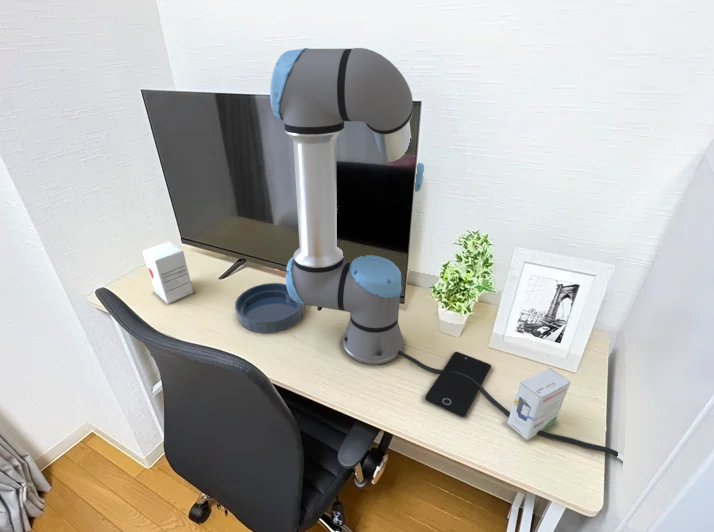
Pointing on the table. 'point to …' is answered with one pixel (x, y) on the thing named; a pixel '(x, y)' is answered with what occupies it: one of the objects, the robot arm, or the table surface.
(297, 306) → the bowl
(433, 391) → the cell phone
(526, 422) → the ink box
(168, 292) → the rectangular carton
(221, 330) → the table surface
